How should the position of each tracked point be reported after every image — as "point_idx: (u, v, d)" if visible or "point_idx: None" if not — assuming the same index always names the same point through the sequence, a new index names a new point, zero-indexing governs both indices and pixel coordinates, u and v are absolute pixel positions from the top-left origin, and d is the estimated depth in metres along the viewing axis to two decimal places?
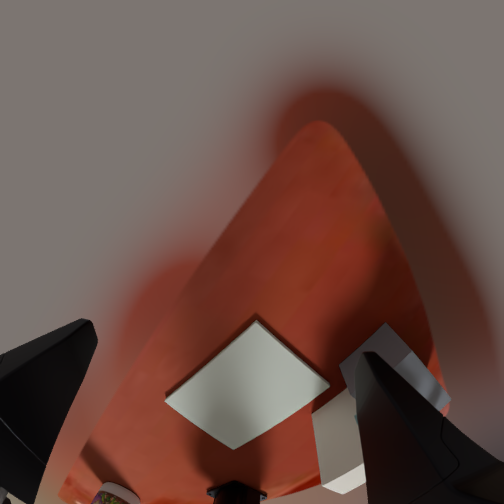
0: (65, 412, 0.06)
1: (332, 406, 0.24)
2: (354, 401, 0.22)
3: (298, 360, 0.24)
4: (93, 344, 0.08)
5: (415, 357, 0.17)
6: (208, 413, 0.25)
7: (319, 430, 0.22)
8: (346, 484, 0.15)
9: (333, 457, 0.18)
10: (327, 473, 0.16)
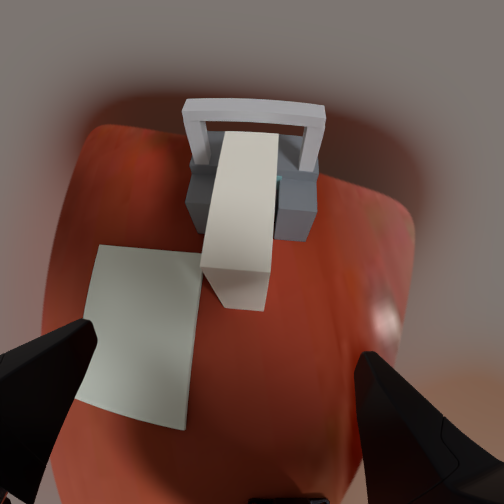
0: (66, 412, 0.06)
1: None
2: None
3: (151, 250, 0.22)
4: (93, 344, 0.08)
5: (208, 132, 0.20)
6: (116, 381, 0.18)
7: None
8: (240, 240, 0.12)
9: None
10: None
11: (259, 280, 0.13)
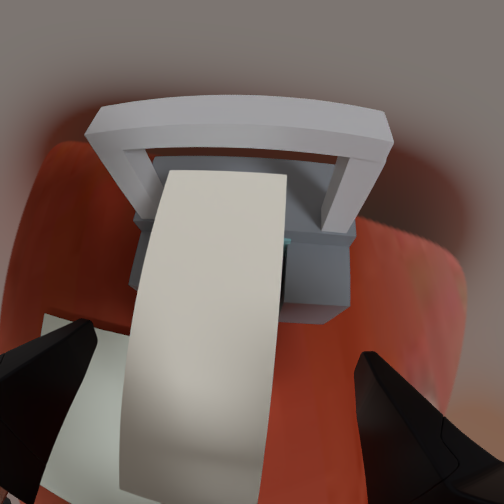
0: (66, 412, 0.06)
1: None
2: None
3: (104, 331, 0.14)
4: (93, 344, 0.08)
5: (169, 158, 0.12)
6: (79, 482, 0.10)
7: None
8: (190, 462, 0.04)
9: None
10: None
11: None
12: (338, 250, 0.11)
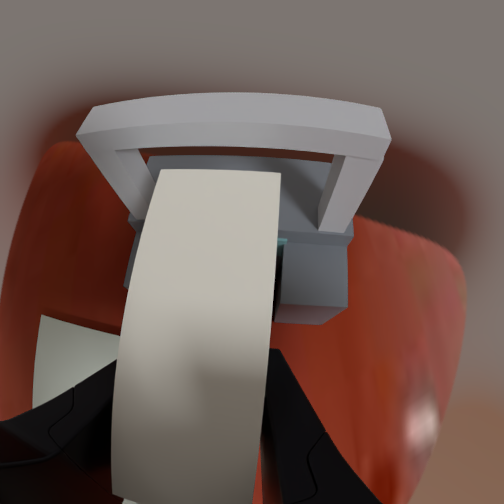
0: None
1: None
2: None
3: (100, 332, 0.14)
4: None
5: (163, 157, 0.12)
6: None
7: None
8: (182, 468, 0.04)
9: None
10: None
11: None
12: (335, 250, 0.11)
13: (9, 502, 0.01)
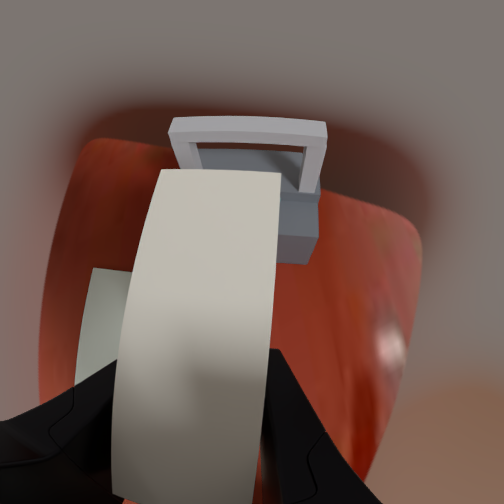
0: None
1: None
2: None
3: None
4: None
5: (201, 150, 0.19)
6: None
7: None
8: (182, 467, 0.04)
9: None
10: None
11: None
12: (310, 205, 0.18)
13: (9, 502, 0.01)
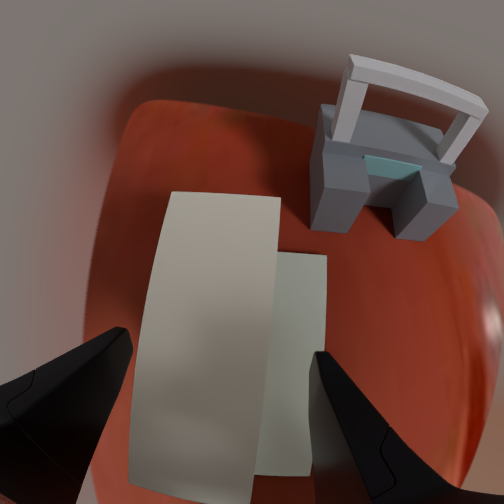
0: (102, 428, 0.06)
1: None
2: None
3: None
4: (129, 353, 0.08)
5: (333, 106, 0.15)
6: None
7: None
8: (192, 457, 0.05)
9: None
10: None
11: None
12: (444, 177, 0.14)
13: None
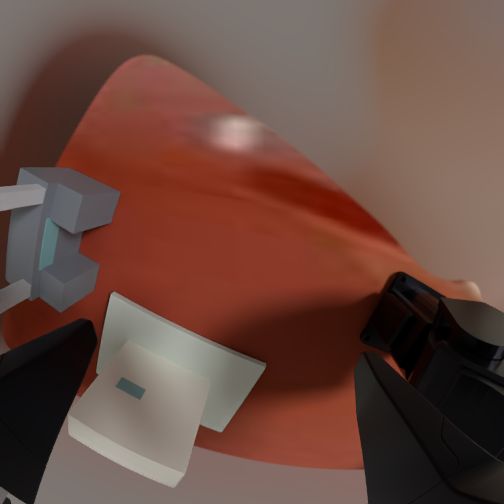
0: (66, 412, 0.06)
1: None
2: None
3: (103, 334, 0.22)
4: (93, 344, 0.08)
5: (6, 271, 0.15)
6: (210, 399, 0.23)
7: None
8: (159, 473, 0.13)
9: None
10: None
11: None
12: (58, 190, 0.14)
13: None
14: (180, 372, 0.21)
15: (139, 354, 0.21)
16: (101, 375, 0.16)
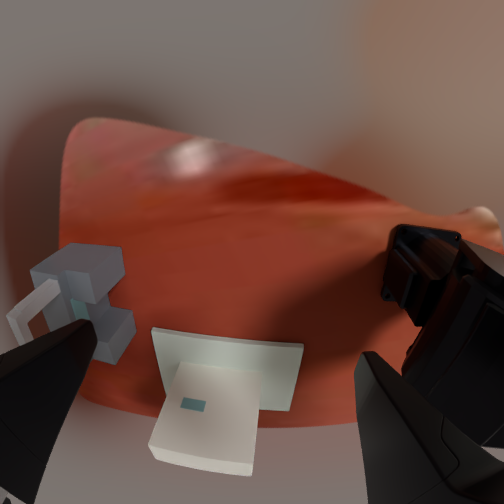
0: (66, 412, 0.06)
1: None
2: None
3: (159, 364, 0.26)
4: (93, 344, 0.08)
5: None
6: (267, 387, 0.26)
7: None
8: (234, 468, 0.16)
9: None
10: None
11: (254, 451, 0.17)
12: (67, 275, 0.17)
13: None
14: (232, 374, 0.24)
15: (193, 371, 0.24)
16: (166, 402, 0.20)
